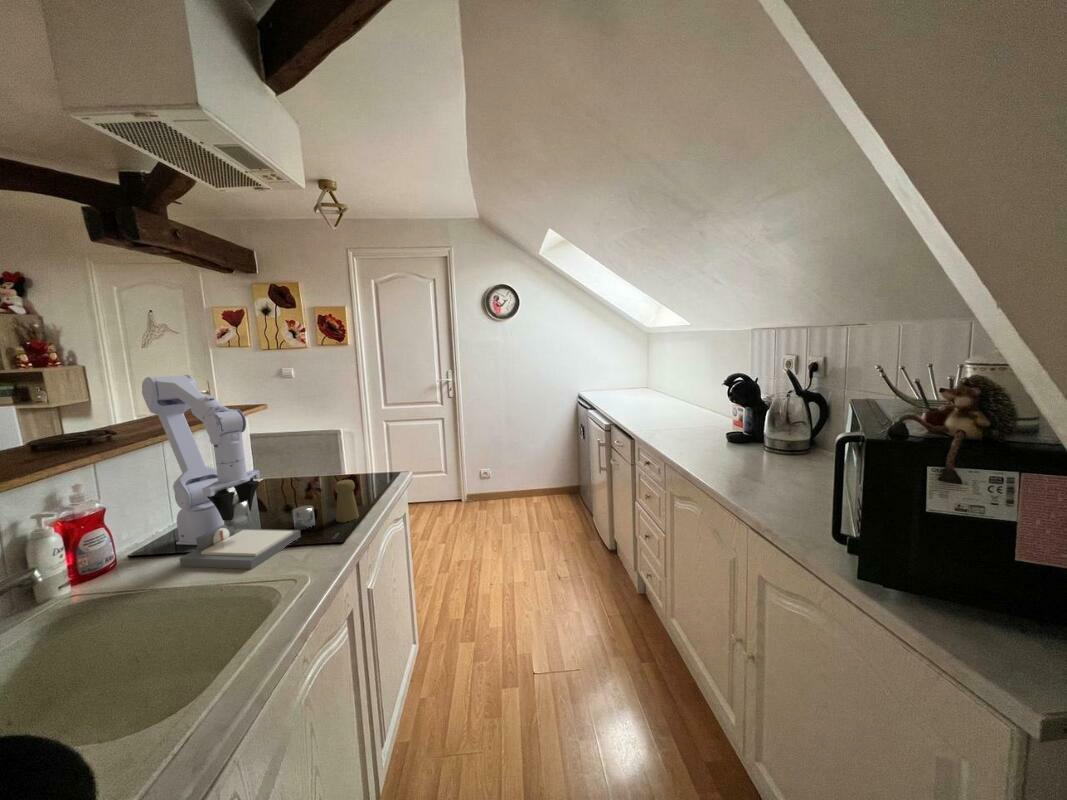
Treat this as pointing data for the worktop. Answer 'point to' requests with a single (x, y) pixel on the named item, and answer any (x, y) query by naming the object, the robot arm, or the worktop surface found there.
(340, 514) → the cork
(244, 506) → the cylinder
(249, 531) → the kitchen scale
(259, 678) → the worktop surface
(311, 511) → the cylinder
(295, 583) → the worktop surface
